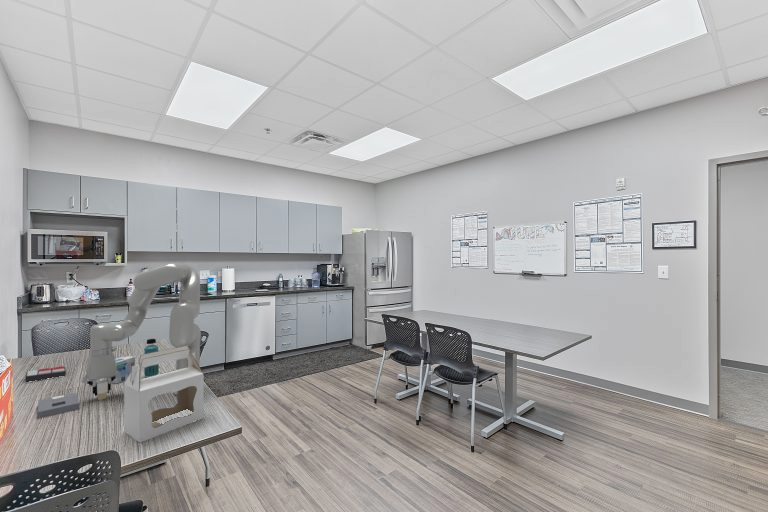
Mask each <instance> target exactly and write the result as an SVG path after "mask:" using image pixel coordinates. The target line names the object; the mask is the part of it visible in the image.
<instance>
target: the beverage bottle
mask: <svg viewBox="0 0 768 512" xmlns="http://www.w3.org/2000/svg"><path fill="white" fill-rule="evenodd" d="M156 343H157V339H156V338H149V339H148V338H147V340H146V346H145V348H144V349H143V350H144V352H143V354H147V353H152V352H157V351H159V346H158V345H156ZM143 369H144V377H150V376H154V375H158V374H160V373H159V372H160V366H159V364H156V365H152V366H148V367H144V368H143Z"/></svg>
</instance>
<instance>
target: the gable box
mask: <svg viewBox="0 0 768 512" xmlns="http://www.w3.org/2000/svg"><path fill="white" fill-rule="evenodd" d="M189 351H190V349H188V346H182V347H177V348H176V347H173V348H168V349H164V350H163V349H161V350H158V351H157V352H152V353H147V354H144V353H143V354H141V355H140V356H139V360H138V362H137V363H135V365H133V366H132V367H131V373H130V375H129V377H128V378H127V380H125V381H124V384H123V386H124V388H123V393H124V394H123V396H124V397H123V398H124V401H123V405H124V409H123V410H124V411H123V412H124V417H123V418H124V421H123V422H124V427H123V428H124V433H125V434H127V435H128V436H129V437H130V438H132V439H134V441H137V442H138V443H143V442H145V441H149V440H151V439H154V438H156V437H159V436H162V435H164V434H167V433H169V431H170V432H172V431H175V430H177V429H179V428H178V427H180V426H183V425H185V426H187V425H186V424H188V423H190V424H192V423H191V422H193V421H195V420H198V419H200V418H203V417H204V416H205V412H204V411H205V408H204V406H205V405H204V404H205V403H204V402H205V401H204V400H205V399H204V396H205V395H204V393H205V392H204V390H205V389H204V383H205V381H204V379H205V378H204V372H203V370H202V369H201V366H200V367H199V365H198V363H197V361H196V359H195V352H192V353H190V352H189ZM182 358H183V359H184V358H187V367H185V368H181V369H177V370H176V369H174V370H170V371H166V372H162V373H158V374H157V375H154V376H145V377H142V370H143V369H144V367H148V366H152V365H156V364H158V365H160V364H165V363H169V362H173V361H176V360H178V359H182ZM193 366H194V367H193ZM176 391H178V393H177V395H176V399H177V403H176V405H174V406H172V407H164V408H160V409H156V410H154V411H152V412H151V410H150V407H149V403H150V401H151V400H152V399H153V398H155V397H157V396H160V395H162V394H167V393H168V394H170V393H173V392H176ZM186 409H188V410H190V411H192V412H193V413H192V414H190V415H188V416H184V417H177V418H174V419H171V420H169V421H167V422H165V423H164V424H162V423H161V424H160V423H157V422H154V421H157V420H159V419H161V418H164V417H166V416H169V415H172V414H175V413H178V412H180V411H183V410H186ZM204 418H205V417H204ZM204 418H203V419H204ZM198 421H199V420H198ZM152 422H154V423H152ZM193 423H194V422H193ZM188 425H189V424H188ZM183 427H184V426H183ZM176 428H177V429H176ZM180 428H181V427H180ZM174 429H175V430H174ZM171 430H172V431H171Z"/></svg>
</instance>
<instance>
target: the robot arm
mask: <svg viewBox="0 0 768 512" xmlns="http://www.w3.org/2000/svg"><path fill="white" fill-rule="evenodd" d="M178 282H179V284H180V286H179V291H178V292H179V294H178V295H179V297H178V303H176V305H174V306H173V307H172V308H171V311H170V315H169V331H168V332H169V333H168V334H169V335H168V336H169V337H168V338H169V339H168V340H169V342H170V344H171V345H172V347H173V348H177V347H182V346H188V349H190V351H189V352H190V353H192V352H195V359H196V361H197V363H198V365H199V367H200V368H201V366H200V365H201V360H200V359H201V352H200V351H201V349H200V348H201V338H202V334H201V332H202V331H201V328H200V326H199V325H198V324H196V323H194V322H195V319H196V318H197V317H198V316H199V315H200V309H201V308H200V305H201V303H200V302H201V279H200V274H199V273H198V271H197V270H196V269H195V268H193V266H191V265H188V264H187V263H181V262H179V263H178V262H177V263H168V264H165V265H162V266H158V267H156V268H152V269H149V270H146V271H142V272H139V273H138V274H136V276H135V277H134V278H133V286H134V289H133V291H132V292H131V294H130V295H129V297H128V299H127V303H128V305H129V309H128V312H127V314H126V316H125V318H124V319H123V320H122V322H118V323H116V324H110V323H100V324H99V323H98V324H95V325H92V326H91V327H90V329H89V331H90V332H89V333H90V339H89V340H90V343H89V344H90V346H89V347H90V350H89V351H90V356H88V358H87V361H86V362H87V363H86V373H85V375H84V377H83V378H82V380H81V383H82V384H86V385H89V386H90V387H92V394H94V396H95V397H96V396H97V397H98V394H97V386H96V382H97V380H100V379H101V380H102V379H106V377H107V382H108V392H106V394H109V393H110V391H111V390H112V384H113V383H112V381H113V380H114V379H115V378H117V377H118V376H120V375H121V374H120V372H119V371H118V370H117V369H116V361H115V359H116V355H115V353H114V352H115V351H117V347H113V342H121V341H123V340H126V339H128V338H130V337H132V336H133V335H135V334H136V333H137V332H138V330H139V329H140V327H141V325H142V324H143V322H144V320H145V318H146V316H147V313H148V309H149V307H150V305H151V303H152V301H153V300H154V298H155V296H156V294H157V293H158V291H159V290H160V288H161V287H164V286H167V285H170V284H173V283H178ZM175 361H176V364H175V365H176V369H175V370H177V369H181V368H185V367H187V358H184V359H183V358H182V359H178V360H175ZM193 367H194V366H193ZM111 376H112V377H111ZM177 393H178V391H176V392H172V394H173V395H174V396H177Z"/></svg>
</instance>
